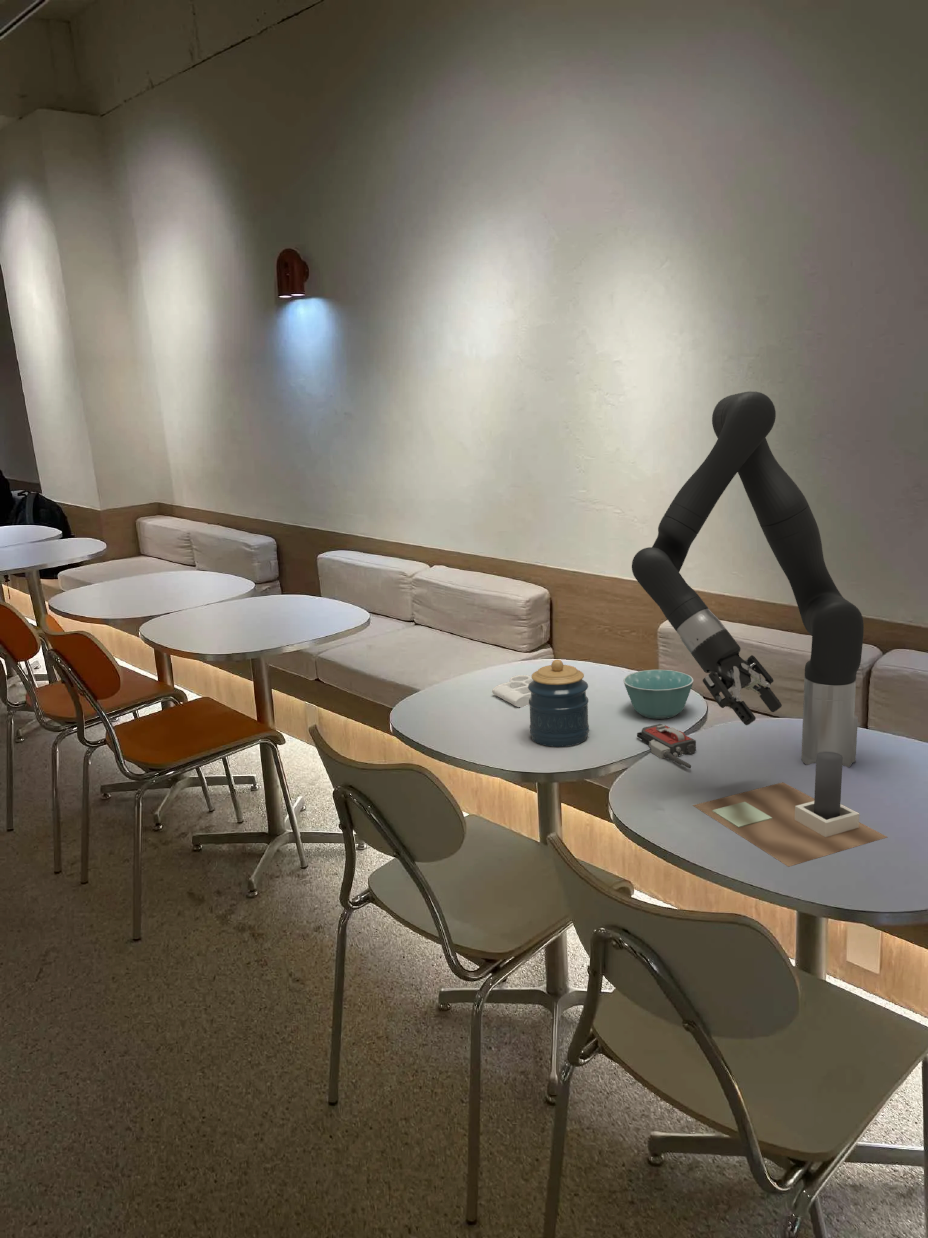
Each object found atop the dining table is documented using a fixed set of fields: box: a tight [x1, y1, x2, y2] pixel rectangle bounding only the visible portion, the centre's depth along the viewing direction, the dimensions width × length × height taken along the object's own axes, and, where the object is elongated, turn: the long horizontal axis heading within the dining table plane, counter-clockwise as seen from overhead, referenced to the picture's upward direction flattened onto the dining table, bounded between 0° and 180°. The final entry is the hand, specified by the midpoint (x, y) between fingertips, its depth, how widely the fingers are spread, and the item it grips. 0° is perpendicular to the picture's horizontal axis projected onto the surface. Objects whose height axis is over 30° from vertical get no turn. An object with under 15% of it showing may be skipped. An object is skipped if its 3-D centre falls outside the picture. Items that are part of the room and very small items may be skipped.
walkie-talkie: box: [636, 723, 697, 769], centre depth 186 cm, size 9×4×20 cm
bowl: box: [622, 669, 694, 720], centre depth 208 cm, size 16×16×8 cm
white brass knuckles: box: [491, 674, 533, 708], centre depth 225 cm, size 3×18×15 cm
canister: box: [528, 659, 590, 748], centre depth 195 cm, size 13×13×18 cm
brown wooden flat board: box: [692, 782, 888, 868], centre depth 151 cm, size 20×24×2 cm
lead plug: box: [813, 752, 843, 820], centre depth 148 cm, size 4×4×12 cm
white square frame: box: [795, 801, 861, 837], centre depth 149 cm, size 7×7×2 cm
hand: (764, 715), depth 154 cm, fingers open, 8 cm apart
